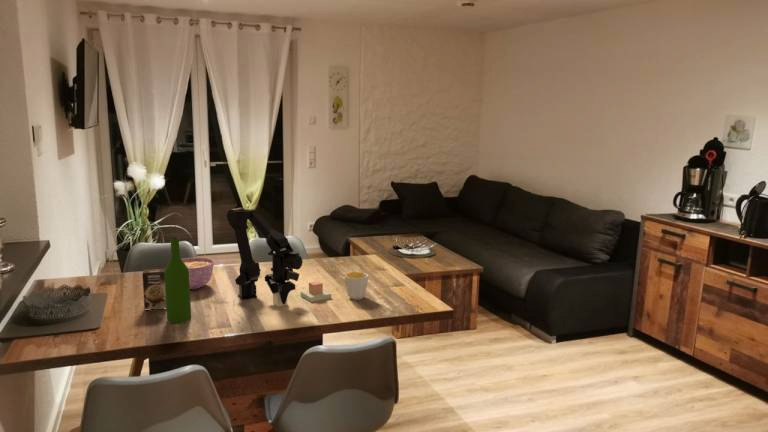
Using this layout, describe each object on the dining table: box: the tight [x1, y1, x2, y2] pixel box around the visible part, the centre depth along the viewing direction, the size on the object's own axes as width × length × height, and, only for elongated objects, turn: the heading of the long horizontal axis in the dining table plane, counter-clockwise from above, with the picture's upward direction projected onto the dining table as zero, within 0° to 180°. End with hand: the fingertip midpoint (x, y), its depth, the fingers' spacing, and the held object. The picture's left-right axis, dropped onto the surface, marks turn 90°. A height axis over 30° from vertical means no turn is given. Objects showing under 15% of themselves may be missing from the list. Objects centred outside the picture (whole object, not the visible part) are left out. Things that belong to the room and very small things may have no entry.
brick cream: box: [272, 293, 288, 307], centre depth 249 cm, size 4×4×4 cm
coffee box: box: [142, 267, 166, 310], centre depth 241 cm, size 9×6×16 cm
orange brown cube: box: [308, 280, 324, 295], centre depth 258 cm, size 4×4×4 cm
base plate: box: [300, 289, 332, 303], centre depth 258 cm, size 10×10×2 cm
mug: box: [344, 271, 369, 301], centre depth 258 cm, size 14×10×10 cm
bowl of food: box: [181, 257, 215, 290], centre depth 270 cm, size 20×20×12 cm
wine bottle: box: [164, 237, 192, 324], centre depth 227 cm, size 9×9×32 cm
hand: (280, 301), depth 249 cm, fingers open, 7 cm apart
